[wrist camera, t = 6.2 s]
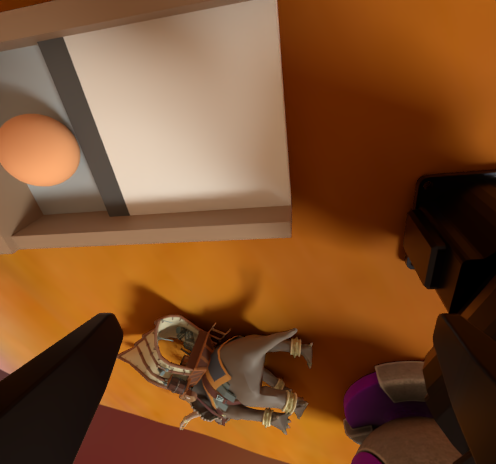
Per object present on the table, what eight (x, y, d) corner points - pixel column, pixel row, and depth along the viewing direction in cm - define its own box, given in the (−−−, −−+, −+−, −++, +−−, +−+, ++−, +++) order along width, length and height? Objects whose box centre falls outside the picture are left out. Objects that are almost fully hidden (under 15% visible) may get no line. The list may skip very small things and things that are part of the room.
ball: (-42, 125, 15) (8, 116, 18) (1, 202, 16) (39, 180, 20) (42, 111, 15) (75, 105, 18) (75, 188, 16) (99, 169, 20)
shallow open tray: (275, -28, 14) (268, -51, 10) (291, 208, 20) (291, 242, 16) (-57, 41, 17) (-143, 40, 14) (43, 224, 23) (0, 254, 20)
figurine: (261, 476, 30) (96, 426, 30) (268, 411, 35) (127, 369, 35) (351, 375, 18) (78, 292, 18) (342, 299, 23) (128, 234, 23)
